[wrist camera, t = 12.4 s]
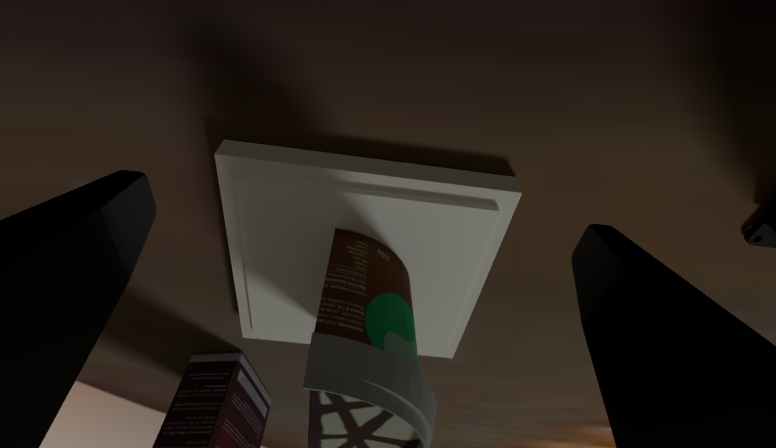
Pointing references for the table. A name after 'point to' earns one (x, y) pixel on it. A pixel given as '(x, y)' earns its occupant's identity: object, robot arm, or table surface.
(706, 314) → the robot arm
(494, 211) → the white square tray
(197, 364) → the supplement box
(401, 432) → the food container
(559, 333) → the table surface
